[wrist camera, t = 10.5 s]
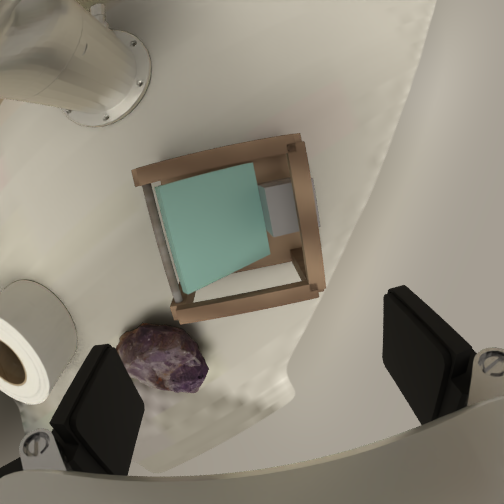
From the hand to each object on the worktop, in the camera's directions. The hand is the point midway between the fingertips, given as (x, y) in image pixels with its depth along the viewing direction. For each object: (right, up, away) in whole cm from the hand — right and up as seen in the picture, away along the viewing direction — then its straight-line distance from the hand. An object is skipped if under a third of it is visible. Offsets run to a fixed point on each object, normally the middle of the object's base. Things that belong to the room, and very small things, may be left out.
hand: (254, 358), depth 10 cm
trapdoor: (-4, +6, +22) cm, 23 cm away
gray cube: (+1, +8, +23) cm, 24 cm away
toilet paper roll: (-34, -8, +30) cm, 46 cm away
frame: (-2, +8, +27) cm, 28 cm away
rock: (-12, -8, +32) cm, 35 cm away
